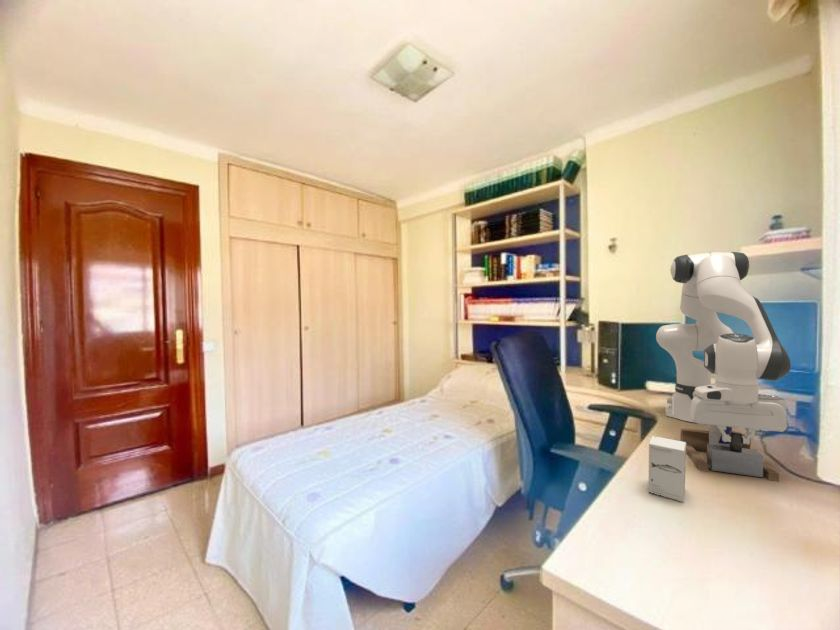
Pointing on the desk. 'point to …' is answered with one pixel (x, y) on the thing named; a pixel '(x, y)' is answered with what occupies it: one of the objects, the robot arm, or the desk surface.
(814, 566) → the desk surface
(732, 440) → the sliding jaw
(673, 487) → the supplement box
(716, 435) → the energy drink
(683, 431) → the vise frame
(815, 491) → the desk surface
